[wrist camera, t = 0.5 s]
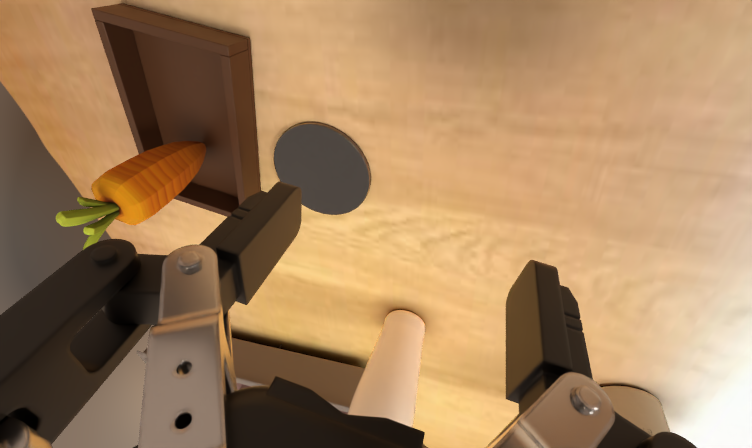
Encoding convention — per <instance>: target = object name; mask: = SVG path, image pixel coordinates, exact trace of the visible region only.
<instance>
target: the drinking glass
mask: <svg viewBox="0 0 752 448" xmlns="http://www.w3.org/2000/svg"><path fill="white" fill-rule="evenodd" d="M424 335H425V324H424V322H423V320H422V319H421V318H420V317H419V316H417V315H416V314H414V313H412V312H409V311H406V310H395V311H392V312H390V313H389V314H388V315H387V316H386V318H385V321H384V324H383V327H382V330H381V332H380V335H379V337H378V339H377V342H376V344H375V346H374V349H373V351H372V353H371V356H370V358H369V360H368V363H367V365H366V367H365V370H364V372H363V374H362V376H361V379H360V381H359V383H358V386H357V388H356V391H355V393H354V396H353V399H352V402H351V405H350V408H349V411H348V415H359V416H371V417H382V418H388V419H391V420H394V421H396V422H399V423H401V424H404V425H407V426H409V427H413V422H414V416H415V409H416V401H417V392H418V382H419V373H420V364H421V355H422V347H423V340H424Z"/></svg>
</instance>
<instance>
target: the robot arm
mask: <svg viewBox="0 0 752 448" xmlns="http://www.w3.org/2000/svg"><path fill="white" fill-rule="evenodd" d="M301 200H302V192H301V188H300V187H296V186H293V185H290V184H287V183H283V182H278V183H276V184H275V185H274V186H273V187H272V189H271V190H270V191H269V192H268V193H267V192H264V191H260V192H258V193H256V194H254V195H251V196H249V197H248V198H247V199H246V200H244V201H243V202H242V203H241V204H240V205H239V206H238V209H237V208H236V209H235V210H234V211H233V212H232V213H231V216H228V217H227V218H226V219H225V220H224V221H223V222H222V223H221V224H220V225H219V226H218V227H217V228H216V229H215V230H214V231H213V232H212V233H211V234H210V235H209V236H208V237H207V238H206V239H205V240H204V241H203V242H202V243H201V244H200V245H188V246H184V247H181V248H179V249H177V250H175V251H173V252H172V253H170V254H169V255H148V254H137V252H136V249H135V247H134V245H133V244H132V243H130V242H128V241H126V240H122V239H109V240H103V241H100V242H97V243H94V244H92V245H90V246H88V247H86V248H85V249H84V250H82V251H81V252H80V253H78V254H77V255H76V256H75V257H73V258H72V259H71V260H70V261H68V262H67V263H66V264H65V265H63V266H62V267H61V268H59V269H58V270H57V271H56V272H54V273H53V274H52V275H51V276H49V277H48V278H47V279H45V280H44V281H43V282H42V283H40V284H39V285H38V286H37V287H35V288H34V289H33V290H32V291H30V292H29V293H28V294H27V295H26V296H24V297H23V298H21V299H20V300H19V301H18V302H16V303H15V304H14V305H13V306H11V307H10V308H9V309H8V310H6V311H5V312H4V313H3V314H2V315H0V448H52V443H53V442H54V441H55V440H56V438H57V437H58V436H59V435H60V434H61V432H62V431H63V430H64V429H65V428H66V427H67V425H68V424H69V423H70V422H71V421H72V419H73V418H74V417H75V416H76V415H77V413H78V412H79V411H80V410H81V409H82V408H83V406H84V405H85V404H86V403H87V402H88V400H89V399H90V398H91V397H92V396H93V394H94V393H95V392H96V391H97V390H98V388H99V387H100V386H101V385H102V384H103V382H104V381H105V380H106V379H107V378H108V376H109V375H110V374H111V373H112V372H113V371H114V369H115V368H116V367H117V366H118V365H119V363H120V362H121V361H122V360H123V359H124V358H125V356H126V355H127V354H128V353H129V352H130V350H131V349H132V348H133V347H134V346H135V345H136V343H137V342H138V341H139V340H140V339H141V337H142V336H143V335H144V334H145V333H146V331H147V330H148V329H149V328H150V327H151V325H154V326H152V327H151V329H150V332H149V338H148V348H147V359H146V370H145V380H144V390H143V400H142V412H141V422H140V432H139V442H138V445H137V446H135V447H133V448H427V447H426V446H425V445H423V439H424V433H425V432H423V431H420V430H417V429H415V428H412V427H409V426H407V425H404V424H401V423H399V422H396V421H394V420H391V419H388V418H382V417H371V416H359V415H348V414H344V413H342V412H341V411H339V410H338V409H337V408H335V407H334V406H333V405H331V404H330V403H329V402H327V401H326V400H325V399H323V398H322V397H321V396H319V395H318V394H317V393H315V392H314V391H313V390H311V389H309V388H306V387H304V386H301V385H299V384H296V383H293V382H291V381H288V380H285V379H283V378H280V377H277V376H275V378H274V380H273V382H272V384H271V385H270V386H266V385H264V386H252V387H247V388H243V389H240V390H237V383H236V376H235V370H234V362H233V350H232V338H231V327H230V315H229V309H230V308H231V306H232V305H233V304H234V302H235V301H237V302H240V303H242V304H245V305H247V304H248V303H249V301H250V300H251V299H252V297H253V296H254V294H255V293H256V292H257V290H258V289H259V287H260V286H261V285H262V283H263V282H264V280H265V279H266V278H267V276H268V275H269V273H270V272H271V271H272V269H273V268H274V266H275V265H276V264H277V262H278V261H279V259H280V258H281V257H282V255H283V254H284V252H285V251H286V250H287V248H288V247H289V245H290V244H291V243H292V241H293V240H294V238H295V237H296V235H297V234H298V231H299V229H300V225H301ZM101 308H102V309H101ZM100 309H101V310H100ZM99 310H100V311H99ZM98 311H99V312H98ZM97 312H98V313H97ZM96 313H97V314H96ZM95 314H96V315H95ZM94 315H95V316H94ZM93 316H94V317H93ZM92 317H93V318H92ZM91 318H92V319H91ZM90 319H91V320H90ZM89 320H90V321H89ZM88 321H89V322H88ZM87 322H88V323H87ZM86 323H87V324H86ZM85 324H86V325H85ZM84 325H85V326H84ZM83 326H84V327H83ZM82 327H83V328H82ZM582 330H583V328H582V323H581V320H580V313H579V308H578V303H577V301H576V300H575V298H574V296H573V295H572V293H571V291H570V290H569V288H567V287H564V286H561V285H560V283H559V277H558V271H557V268H556V267H554V266H551V265H547V264H544V263H541V262H538V261H534V260H530V261H529V262H528V263H527V265H526V266H525V268H524V269H523V271H522V272H521V274H520V275H519V277H518V278H517V280H516V282H515V283H514V285H513V286H512V288H511V289H510V291H509V294H508V297H507V301H506V399H508V400H510V401H513V402H516V403H519V414H518V415H517V416H516V417H515V418H514V419H513V420H512V421H511V422H510V423H509V424H508V425H507V426H506V427H505V428H504V429H503V430H502V431H501V432H500V433H499V434H498V435H497V436H496V437H495V438H494V439H493V440H492V441H491V442H490V443H489V444H488V445H487V446H486V447H485V448H697V447H696V446H694V445H693V444H692V443H691V442H689V441H688V440H686V439H685V438H683V437H681V436H679V435H677V434H675V433H672V432H660V433H657V434H655V435H653V436H651V435H650V434H648V433H647V432H645V431H643V430H642V429H640V428H639V427H637V426H636V425H634V424H633V423H631V422H630V421H628V420H627V419H625V418H624V417H622V416H621V415H619V414H618V413H617V412H615V411H614V408H613V405H612V402H611V400H610V398H609V397H608V395H607V394H606V393H605V391H604V390H603V389H602V388H601V387H600V386H599V385H598V384H597V383H596V382H595V381H593V378H592V373H591V368H590V363H589V358H588V353H587V348H586V343H585V338H584V333H583V332H582Z"/></svg>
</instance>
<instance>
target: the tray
mask: <svg viewBox="0 0 752 448" xmlns="http://www.w3.org/2000/svg"><path fill="white" fill-rule="evenodd" d="M91 10H92V13H93V16H94V19H95V22H96V25H97V28H98V31H99V34H100V37H101V40H102V43H103V46H104V49H105V52H106V55H107V58H108V61H109V65H110V68H111V71H112V74H113V77H114V80H115V83H116V86H117V89H118V92H119V95H120V98H121V101H122V104H123V107H124V110H125V113H126V116H127V119H128V122H129V125H130V128H131V131H132V134H133V137H134V140H135V143H136V146H137V149H138V152H139V154H141V153H143V152H145V151H147V150H150V149H153V148H156V147H159V146H162V145H166V144H169V143H173V142H181V141H198V142H201V143H203V144H205V146H206V154H205V157H204V161H203V163H202V165H201V167H200V169H199V171H198V172H197V174H196V175H195V176H194V178H193V179H192V180H191V181H190V183H189V184H188V185H187V186H186V187H185V188H184V190H183V191H181V192H180V193H179V194H178V195H177V196H176V197H175V198H174V199H176V200H179V201H182V202H185V203H188V204H191V205H194V206H197V207H200V208H203V209H206V210H209V211H212V212H215V213H218V214H221V215H224V216H227V217H228V216H231V213H232V212H233V211H234V210H235V209H236V208H237V209H238V206H239V205H240V204H241V203H242V202H243V201H244V200H246V199H247V198H248V197H249V196H251V195H254V194H256V193H258V192H260V191H261V188H260V174H259V160H258V146H257V132H256V118H255V103H254V89H253V75H252V61H251V47H250V38H247V37H244V36H240V35H236V34H233V33H229V32H225V31H222V30H218V29H214V28H211V27H207V26H203V25H200V24H196V23H192V22H189V21H185V20H181V19H177V18H174V17H170V16H166V15H163V14H159V13H155V12H152V11H148V10H144V9H141V8H137V7H133V6H130V5H126V4H116V5H110V6H104V7H97V8H92V9H91Z"/></svg>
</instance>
